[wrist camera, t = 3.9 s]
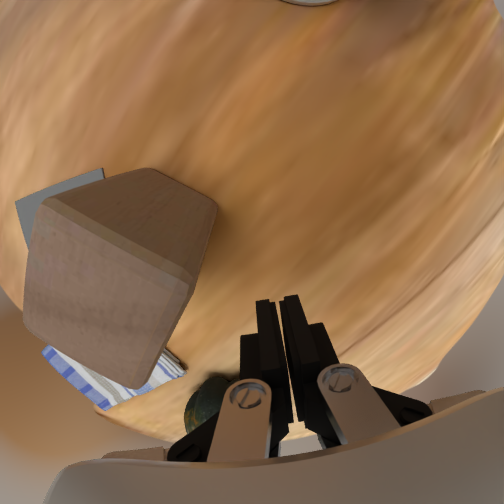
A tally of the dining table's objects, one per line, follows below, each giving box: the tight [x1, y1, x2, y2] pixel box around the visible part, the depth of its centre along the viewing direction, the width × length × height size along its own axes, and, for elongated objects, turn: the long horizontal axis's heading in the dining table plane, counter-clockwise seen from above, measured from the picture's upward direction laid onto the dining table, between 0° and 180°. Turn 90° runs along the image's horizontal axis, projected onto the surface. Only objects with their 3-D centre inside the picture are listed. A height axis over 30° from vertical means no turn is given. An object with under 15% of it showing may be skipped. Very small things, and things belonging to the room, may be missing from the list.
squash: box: [184, 377, 240, 434], centre depth 37 cm, size 14×15×15 cm
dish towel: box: [41, 344, 187, 411], centre depth 39 cm, size 17×24×3 cm
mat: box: [15, 168, 105, 250], centre depth 33 cm, size 17×16×1 cm
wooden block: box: [23, 168, 218, 390], centre depth 23 cm, size 10×10×20 cm
